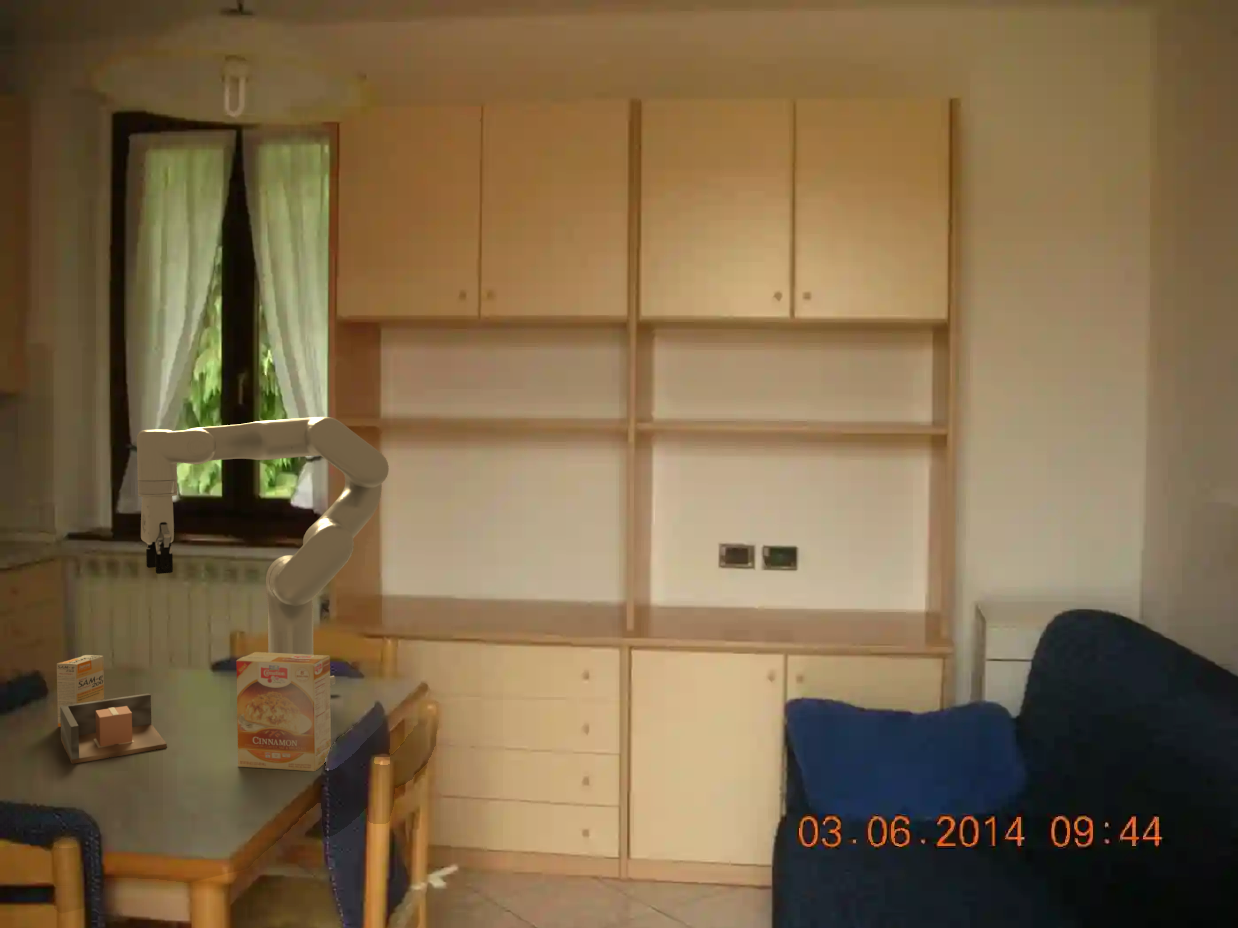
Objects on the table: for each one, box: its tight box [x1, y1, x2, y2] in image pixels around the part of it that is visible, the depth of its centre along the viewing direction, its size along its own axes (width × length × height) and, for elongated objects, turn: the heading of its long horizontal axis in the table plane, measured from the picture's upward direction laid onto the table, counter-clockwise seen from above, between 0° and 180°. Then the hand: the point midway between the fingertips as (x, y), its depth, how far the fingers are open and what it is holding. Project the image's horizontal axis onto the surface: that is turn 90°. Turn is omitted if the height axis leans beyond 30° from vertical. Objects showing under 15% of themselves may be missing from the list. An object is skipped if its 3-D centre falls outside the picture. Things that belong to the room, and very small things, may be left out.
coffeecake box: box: [235, 651, 332, 772], centre depth 188 cm, size 15×7×20 cm, turn 80°
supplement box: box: [56, 654, 105, 728], centre depth 213 cm, size 8×5×13 cm, turn 168°
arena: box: [60, 693, 168, 765], centre depth 199 cm, size 16×16×7 cm
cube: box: [96, 706, 132, 747], centre depth 198 cm, size 6×6×6 cm
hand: (159, 570), depth 218 cm, fingers open, 9 cm apart
